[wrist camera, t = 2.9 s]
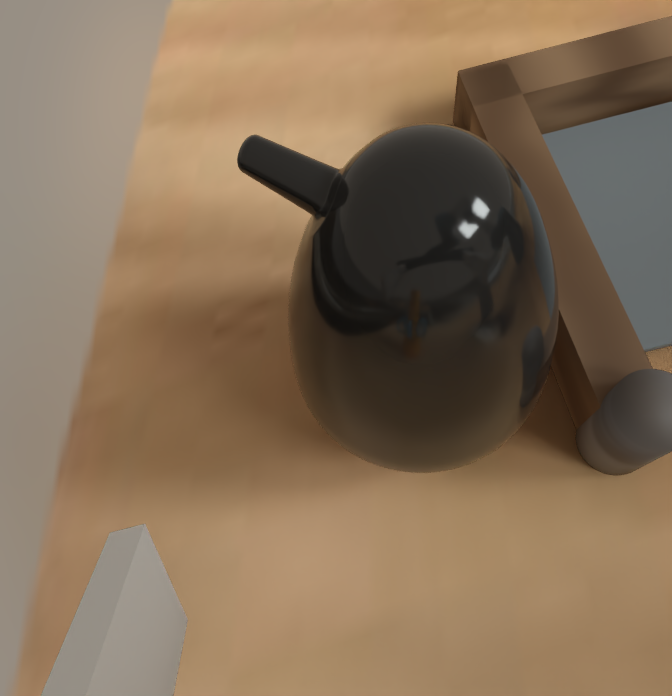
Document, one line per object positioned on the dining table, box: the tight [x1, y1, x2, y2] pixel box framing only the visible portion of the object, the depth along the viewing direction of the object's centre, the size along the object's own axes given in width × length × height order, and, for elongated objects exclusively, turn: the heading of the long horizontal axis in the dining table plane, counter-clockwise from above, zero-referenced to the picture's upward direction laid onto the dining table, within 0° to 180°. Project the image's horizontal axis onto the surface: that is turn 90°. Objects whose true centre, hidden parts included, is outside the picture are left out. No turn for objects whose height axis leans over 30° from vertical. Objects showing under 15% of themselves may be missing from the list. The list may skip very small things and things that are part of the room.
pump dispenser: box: [237, 123, 559, 473], centre depth 21 cm, size 10×10×15 cm
